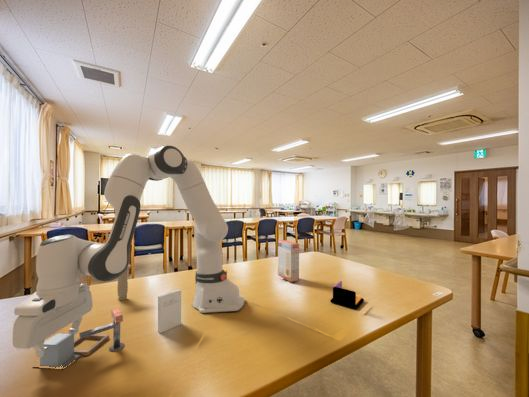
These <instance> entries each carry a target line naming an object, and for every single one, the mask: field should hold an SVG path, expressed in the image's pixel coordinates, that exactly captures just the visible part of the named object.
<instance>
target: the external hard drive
mask: <svg viewBox="0 0 529 397" xmlns="http://www.w3.org/2000/svg"><path fill="white" fill-rule="evenodd" d="M181 324H182V289H180V288H179V289H173V290H171V291H169V292H165V293H162V294H159V295H157V333H159V334H161V333H162V334H163V333H164V332H167V331H168V330H171V329H173V328H175V327H178V326H180V325H181Z"/></svg>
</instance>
